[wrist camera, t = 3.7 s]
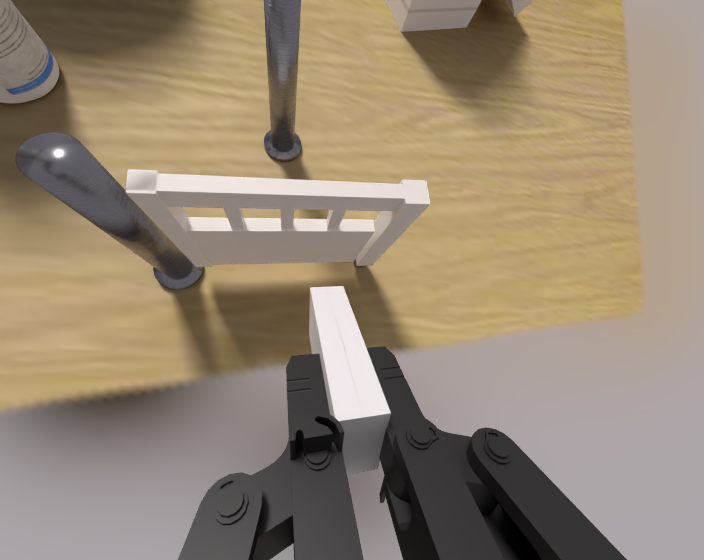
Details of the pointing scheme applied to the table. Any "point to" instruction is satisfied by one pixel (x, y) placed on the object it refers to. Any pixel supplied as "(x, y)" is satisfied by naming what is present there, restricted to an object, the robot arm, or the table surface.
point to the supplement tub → (23, 59)
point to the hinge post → (103, 203)
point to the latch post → (282, 76)
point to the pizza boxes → (440, 13)
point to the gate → (274, 233)
